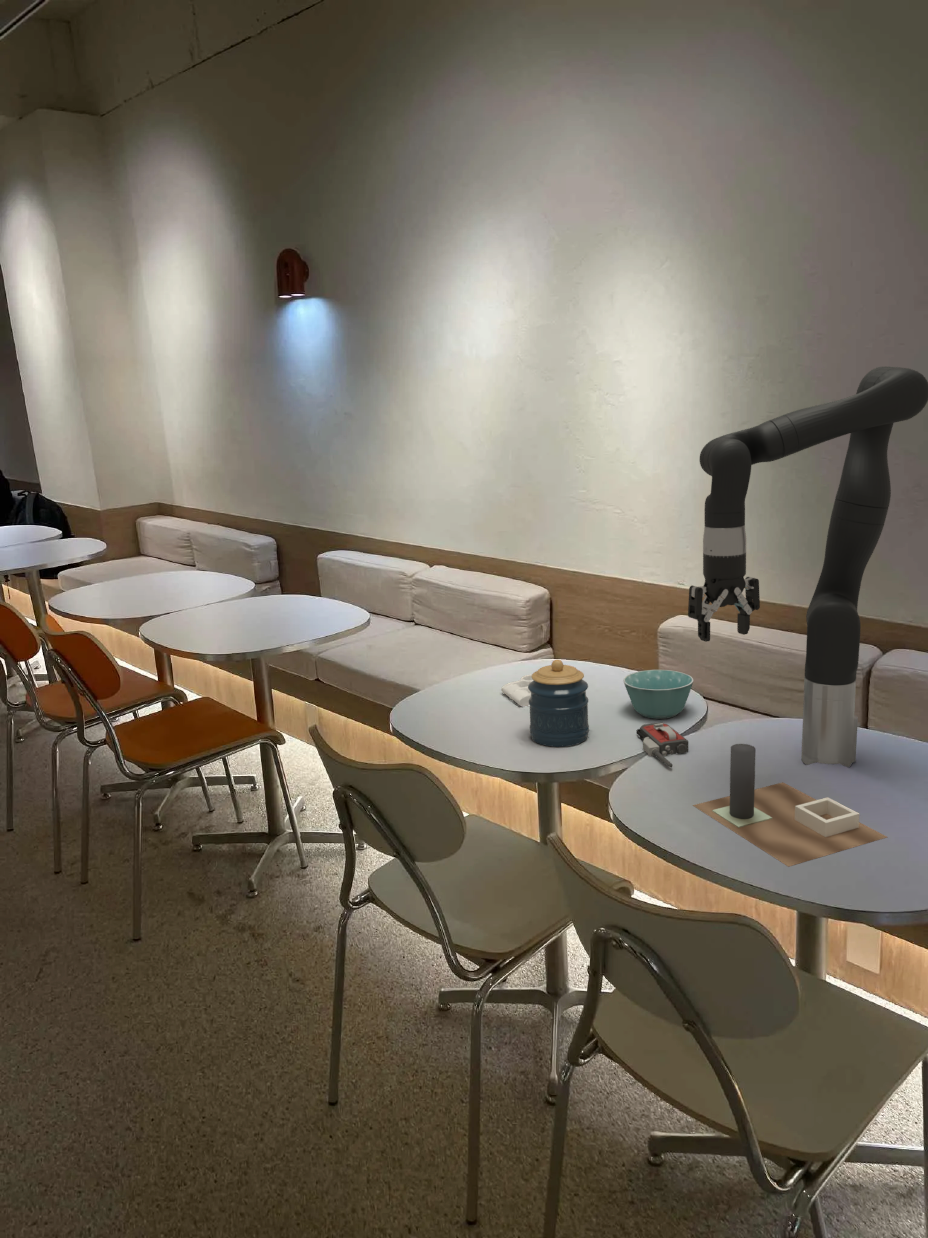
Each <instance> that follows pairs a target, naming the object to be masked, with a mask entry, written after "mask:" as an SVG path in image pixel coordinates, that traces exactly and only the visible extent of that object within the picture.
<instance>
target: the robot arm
mask: <svg viewBox="0 0 928 1238" xmlns="http://www.w3.org/2000/svg"><path fill="white" fill-rule="evenodd" d="M927 403H928V379H927V378H926V376H924V375H923V374H922V373H921V372H919V371H918V370H915V369H912V368H909V367H908V368H907V367H898V366H879V367H876V368H873V369H871V370H870V371H868V372H867V373H866V374H865V375H864V377H862V379H861V381H860V383H859V385H858V387H857V389H856V393H855V394H854V395H851V396H848V397H844V398H841V399H839V400H834V401H831V402H826V403H821V404H818V405H814V406H813V405H812V406H810V407H804V408H800V409H797V410H793V411H791V412H787V413H785V414H783V415H779V416H777V417H774V418H771V419H769V420H767V421H764V422H762V423H760V424H758V425H756V426H753V427H748V428H744V429H742V430H737V431H734V432H730V433H728V434H723V435H720V436H718V437H716V438H713V439H711V440H709V442H707V443H706V444H705V445H703V447H702V449H701V451H700V453H699V465H700V467H701V469H702V470H703V471H704V472H705V473H706V474H707V475H709V476H711V485H710V486H711V488H710V494H708V495H707V496H706V497H705V500H704V528H703V529H704V531H703V535H702V536H703V538H702V557H703V558H702V575H703V577H704V583H703V585H700V586H696V585H692V584H691V585H690V586H689V588H688V606H687V607H688V609H687V611H688V612H687V617H688V618H691V619H693V620H696V621H697V637H698V638H699V640H701V641H703V642H710V641H711V621H710V620H711V618H712V617H713V614H714V613H716V612H718V610H719V609H720V608H722V607H726V606H734V607H735V608H736V610H737V611H738V612H739V613H737V617H736V618H737V619H736V620H737V628H736V629H737V633H738V634H740V635H742V636H743V635H744V636H745V635H748V634H749V632H750V627H751V624H750V623H751V614H752V613H753V612H754V611H758V610H760V608H761V604H760V603H761V602H760V600H761V599H760V580H759V579H758V578H755V577H753V576H746V575H747V532H746V498H747V494H748V491H749V490H748V488H749V484H750V479H751V474H752V466H753V465H756V464H760V463H771V462H775V461H778V460H780V459H783V458H786V457H788V456H791V455H794V454H796V453H798V452H801V451H805V450H806V449H809V448H811V447H814V446H817V445H820V444H822V443H825V442H827V441H828V442H829V441H831V440H833V439H837V438H839V437H843V436H846V435H849V441H848V447H847V450H846V454H845V457H844V461H843V466H842V471H841V476H840V480H839V483H838V486H837V487H838V488H837V491H836V494H835V498H834V502H833V508H832V510H831V516H830V520H829V524H828V529H827V530H828V531H827V535H826V543H825V551H824V560H823V564H822V568H821V572H820V576H819V578H818V580H817V584H816V587H815V590H814V593H813V594H812V597H811V600H810V602H809V605H808V607H807V611H806V615H805V617H806V618H805V619H806V620H805V621H806V647H805V662H804V663H805V664H804V682H803V683H804V684H803V706H802V707H803V709H802V710H803V711H802V729H801V730H802V732H801V733H802V734H801V757H800V758H801V762H802V763H803V764H805V765H806V766H809V765H812V764H813V765H814V764H816V763H819V764H824V765H842V766H844V767H846V768H850V767H851V766H852V763H856V759H857V758H856V757H857V742H858V739H857V738H858V723H859V721H858V720H859V717H858V715H856V714H855V705H856V704H855V703H856V685H857V683H856V682H857V672H858V667H859V658H860V644H861V618H860V615H859V613H858V605H859V604H858V603H859V595H860V590H861V586H862V580H863V576H864V572H865V569H866V567H867V565H868V563H869V561H870V559H871V557H872V556H873V553H874V552H875V549H876V547H877V544H878V543H879V540H880V538H881V536H882V532H883V529H884V526H885V522H886V518H887V515H888V511H889V507H890V503H891V496H892V495H891V493H892V489H891V477H890V476H891V475H890V470H889V463H888V462H889V461H888V451H889V450H888V449H889V443H890V438H891V433H892V431H893V426H894V424H895V423H898V422H900V423H901V422H904V421H908V420H910V419H913V418H914V417H916V416H917V415H918V414H919V413H921V412H922V411H923V409H925V408H926V405H927ZM745 576H746V577H745ZM744 577H745V578H744ZM744 590H745V595H744V594H743V591H744Z"/></svg>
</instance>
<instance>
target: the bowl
mask: <svg viewBox="0 0 928 1238" xmlns="http://www.w3.org/2000/svg"><path fill="white" fill-rule="evenodd" d="M622 682H623V684H624V687H625V690H626V693H627V695H628V697H629V700H630V702H631V704H632V707H633V708H634V710H635V711H636V712H637V713H638V714H640V715H641V716H642V717H644V718H647V719H656V720H664V719H670V718H673V717H675V716H677V715H678V714H679V713H681V712H682V711H683V710H684V708H685V706H686V704H687V700H688V698H689V695H690V693H691V689H692V687H693V683H694V678H693V677H692V676H691V675H689V674H687V673H685V672H682V671H676V670H670V669H648V670H640V671H636V672H633V673H629V674H627V675H626V676H625V677H624V678H623V681H622Z"/></svg>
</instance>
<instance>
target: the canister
mask: <svg viewBox="0 0 928 1238" xmlns="http://www.w3.org/2000/svg"><path fill="white" fill-rule="evenodd" d="M531 674H532V679H533V681H532V682H531V683H530V684H529V685H528V689H529V690H530V692H531V697H530V699H529V704H530V706H529V723H530V724H529V734H530V738H531V740H533V741H534V742H535V743H537V744H539V745H542V746H547V747H554V748H555V747H558V748H561V747H570V746H575V745H579V744H581V743H583V742H585V741H586V740H587V739H588V737H589V732H590V725H589V711H588V710H589V705H588V703H589V697H587V690H588V688H589V684H588V683H587V681H586V680H584V678H585V673H584V672H583V671H581V670H579V669H577V667H575V666H572V665H570V664H569V665H568V664H564V662H563V661H562V660H560V659H554V660H552V662H551V664H550V665H545V666H541V667H540V668H539V669H537V670H536V671H534V672H533V673H531Z"/></svg>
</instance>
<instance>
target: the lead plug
mask: <svg viewBox="0 0 928 1238" xmlns="http://www.w3.org/2000/svg"><path fill="white" fill-rule="evenodd" d="M756 749H757V748H756V747H755V746H754V745H752V744H747V743H736V744H732V745H731V746H730V765H729V767H730V768H729V769H730V771H729V775H730V776H729V796H730V812H729V813H730V815H731V816H732V817H735V818H738V819H749V818H752V817H753V816H754V791H755V789H756V788H755V787H756V786H755V785H756V784H755V783H756V753H757V752H756Z"/></svg>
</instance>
